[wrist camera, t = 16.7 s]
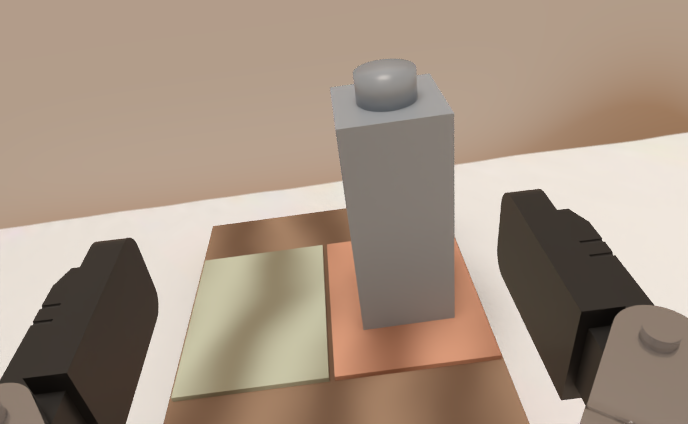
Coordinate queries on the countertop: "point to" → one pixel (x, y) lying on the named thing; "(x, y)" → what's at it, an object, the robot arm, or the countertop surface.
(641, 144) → the countertop surface
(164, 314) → the countertop surface
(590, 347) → the robot arm
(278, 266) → the walnut board
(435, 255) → the slate brick
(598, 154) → the countertop surface
